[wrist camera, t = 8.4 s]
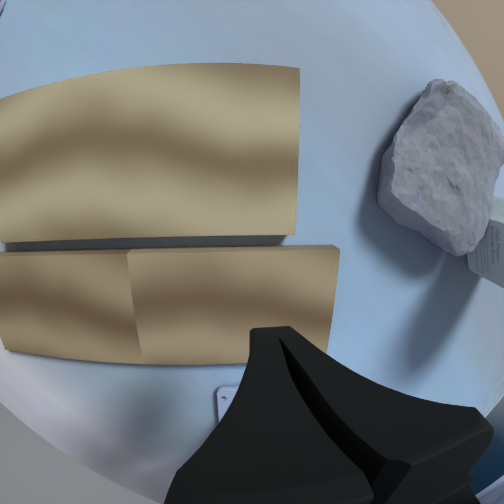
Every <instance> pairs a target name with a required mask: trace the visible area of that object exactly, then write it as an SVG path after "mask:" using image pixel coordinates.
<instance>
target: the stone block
mask: <svg viewBox="0 0 504 504" xmlns="http://www.w3.org/2000/svg"><path fill="white" fill-rule="evenodd" d="M503 163H504V136H503V134H502V132H501V130H500V128H499V126H498V125H497V124H496V122H495V121H494V120H493V119H492V117H491V116H490V115H489V113H488V112H487V111H486V110H485V109H484V107H483V106H482V105H481V104H480V103H479V101H478V100H477V99H476V98H475V97H474V96H473V95H472V94H470V93H469V92H468V91H466V90H465V89H464V88H463V87H462V86H460V85H459V84H458V83H456V82H454V81H448V82H446V81H444V80H442V79H434V80H433V81H430V82H429V83H428V84H427V87H426V88H425V90H424V91H423V93H422V95H421V97H420V99H419V100H418V102H417V103H416V104H415V105H414V107H413V109H412V110H411V111H410V114H409V116H408V117H407V118H406V119H405V120H404V121H403V123H402V124H401V126H400V128H399V130H398V131H397V132H396V134H395V135H394V138H393V141H392V144H391V145H390V146H389V147H388V149H387V150H386V151H385V152H384V154H383V156H382V158H381V169H380V174H379V183H378V188H377V203H378V205H379V206H380V207H381V208H382V209H383V210H384V211H385V212H386V213H387V214H388V215H389V216H390V217H391V218H392V220H394V221H395V222H396V223H397V224H399V225H402V226H405V227H408V228H409V229H410V230H416V231H418V232H419V233H421V234H422V235H423V236H424V237H425V238H426V239H428V240H429V241H430V242H432V243H433V244H434V245H436V246H437V247H439V248H441V249H443V250H444V251H446V252H448V253H451V254H452V255H454V256H462V255H464V254H467V253H468V254H469V253H471V252H472V251H473V250H474V249H475V248H476V246H477V245H478V243H479V241H480V240H481V239H482V237H483V236H484V233H485V230H486V228H487V225H488V221H489V218H490V215H491V211H492V208H493V192H494V186H495V182H496V179H497V178H498V176H499V171H500V168H501V166H502V165H503Z"/></svg>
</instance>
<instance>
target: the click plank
mask: <svg viewBox="0 0 504 504" xmlns="http://www.w3.org/2000/svg"><path fill="white" fill-rule="evenodd" d="M299 90H300V71H299V68H295V67H286V66H275V65H261V64H241V63H190V64H170V65H157V66H146V67H137V68H129V69H121V70H114V71H108V72H102V73H96V74H91V75H86V76H81V77H76V78H71V79H67V80H63V81H59V82H55V83H51V84H47V85H43V86H40V87H36V88H33V89H29V90H26V91H23V92H20V93H17V94H14V95H11V96H8V97H5V98H2V99H0V235H1V242H2V243H9V242H30V241H53V240H78V239H106V238H139V237H178V236H231V235H295V227H296V207H297V183H298V153H299Z"/></svg>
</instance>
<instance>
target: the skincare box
mask: <svg viewBox="0 0 504 504" xmlns="http://www.w3.org/2000/svg"><path fill="white" fill-rule="evenodd" d="M467 261H468V267H469V270H470V271H472V272H474V273H476V274H478V275H480V276H482V277H484V278H486V279H487V280H489V281H491V282H493V283H495V284H497V285H499V286H501V287H502V288H504V199H503V198H499V197H495V196H493V208H492V211H491V215H490V218H489V221H488V225H487V228H486V230H485V233H484V236H483V237H482V239H481V240H480V241H479V243H478V245H477V246H476V248H475V249H474V250H473V251H472V252H471V253H469V254H468V253H467Z"/></svg>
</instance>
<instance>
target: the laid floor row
mask: <svg viewBox="0 0 504 504" xmlns="http://www.w3.org/2000/svg"><path fill="white" fill-rule="evenodd" d="M339 255H340V249H338V248H337V247H335V246H334V245H289V246H229V247H178V248H132V249H90V250H52V251H17V252H0V337H1V339H2V342H3V345H4V348H5V349H6V350H12V351H18V352H24V353H30V354H36V355H43V356H51V357H59V358H67V359H76V360H87V361H98V362H112V363H129V364H156V365H210V364H238V363H247V362H248V358H249V335H250V330H251V329H252V328H261V327H278V326H291V327H292V328H293V329H295V330H296V331H297V332H298V333H300V334H301V335H302V336H303V337H305V338H306V339H307V340H308V341H310V342H311V343H312V344H314V345H315V346H316V347H317V348H319V349H320V350H321V351H323V352H324V353H327V347H328V341H329V334H330V328H331V321H332V314H333V307H334V299H335V291H336V283H337V274H338V265H339Z"/></svg>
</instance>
